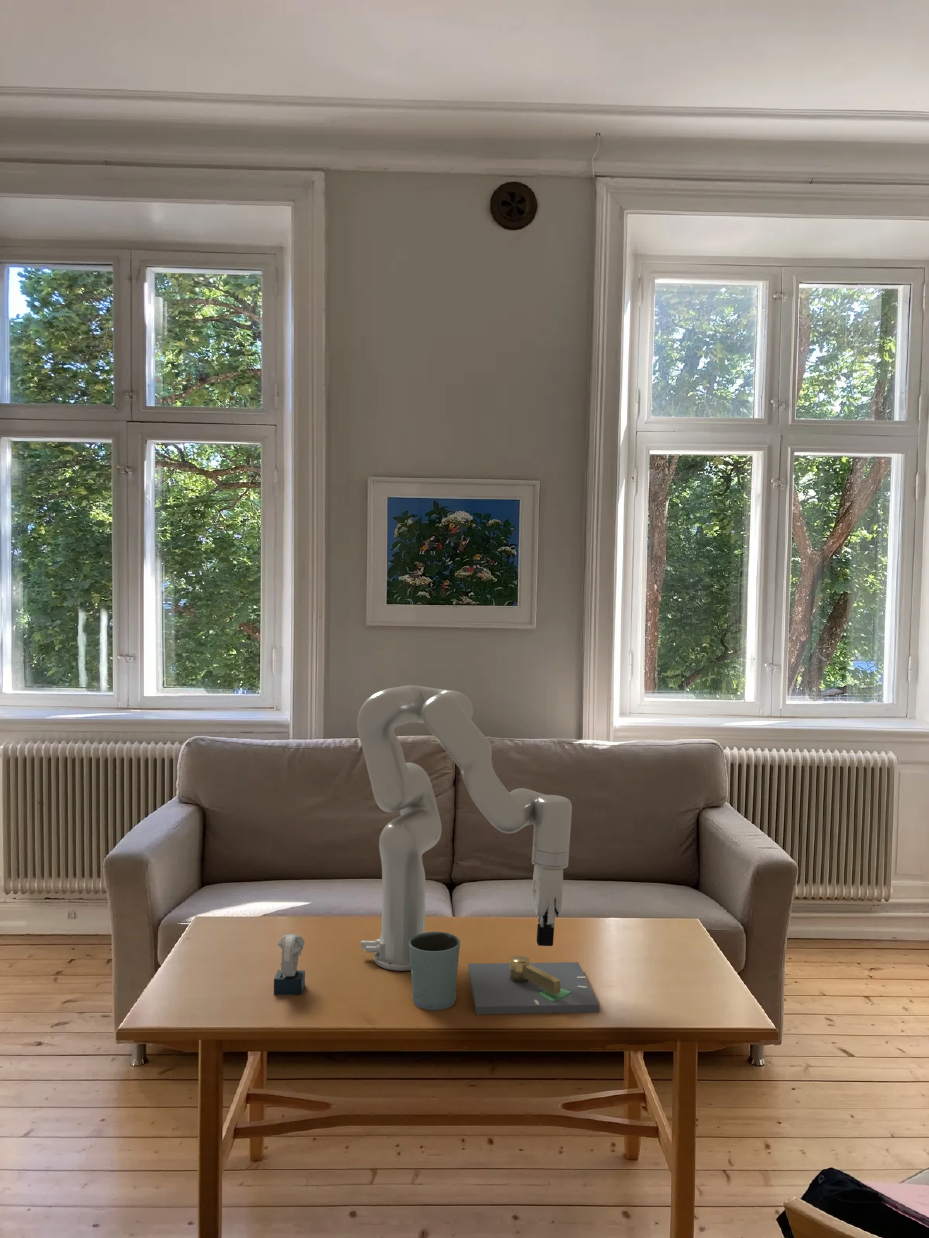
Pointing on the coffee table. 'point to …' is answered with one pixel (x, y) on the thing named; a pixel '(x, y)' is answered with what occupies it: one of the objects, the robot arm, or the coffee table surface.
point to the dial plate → (530, 990)
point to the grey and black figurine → (290, 967)
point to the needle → (532, 974)
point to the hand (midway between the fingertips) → (544, 943)
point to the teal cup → (434, 969)
